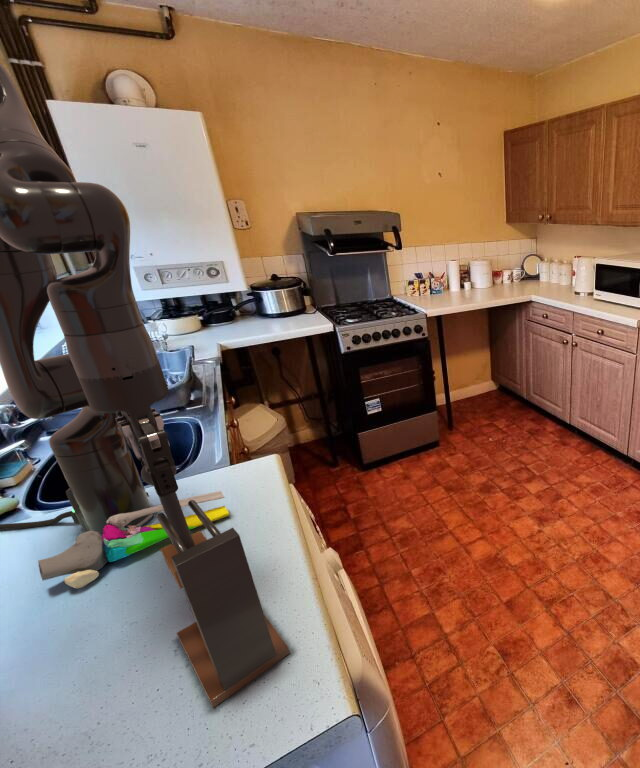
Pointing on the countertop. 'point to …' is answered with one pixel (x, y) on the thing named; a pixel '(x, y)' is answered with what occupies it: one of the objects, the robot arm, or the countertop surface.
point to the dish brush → (174, 524)
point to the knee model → (116, 543)
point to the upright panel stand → (222, 612)
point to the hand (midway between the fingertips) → (164, 486)
